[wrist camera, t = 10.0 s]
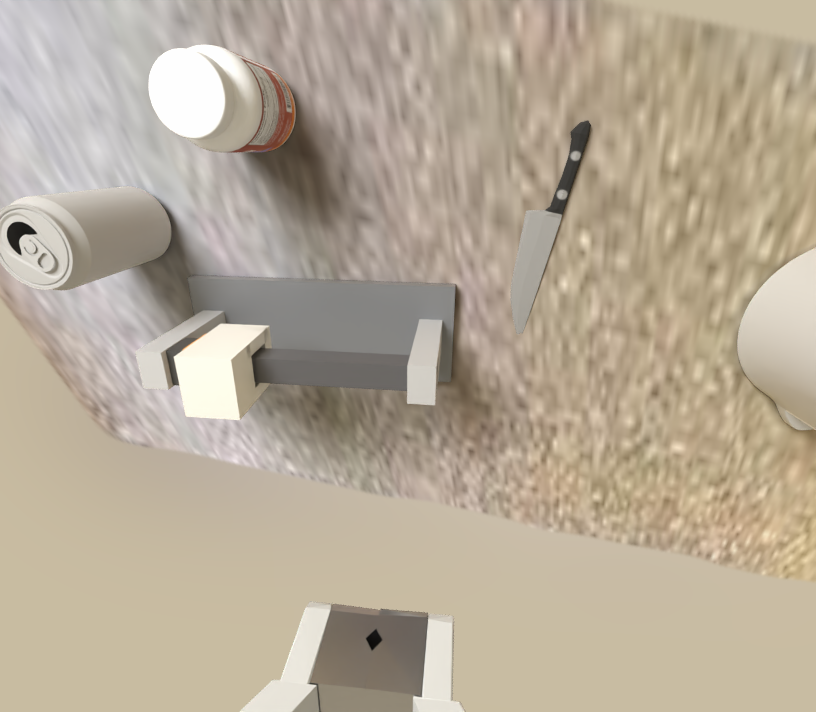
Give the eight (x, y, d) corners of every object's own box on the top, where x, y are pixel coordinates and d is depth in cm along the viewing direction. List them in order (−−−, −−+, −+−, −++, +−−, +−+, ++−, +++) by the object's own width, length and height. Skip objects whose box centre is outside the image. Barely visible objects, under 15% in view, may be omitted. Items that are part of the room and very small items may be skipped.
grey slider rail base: (455, 284, 42) (452, 326, 31) (451, 377, 45) (447, 442, 35) (192, 275, 44) (112, 311, 34) (208, 364, 47) (139, 421, 37)
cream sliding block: (269, 325, 38) (231, 359, 32) (275, 378, 40) (239, 420, 33) (220, 323, 38) (173, 356, 32) (228, 375, 40) (185, 416, 34)
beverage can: (133, 169, 41) (10, 175, 30) (190, 227, 42) (94, 254, 31) (93, 219, 43) (-34, 243, 32) (149, 273, 44) (46, 313, 33)
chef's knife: (484, 341, 44) (516, 349, 44) (484, 345, 43) (517, 354, 43) (552, 113, 36) (592, 122, 36) (554, 112, 35) (594, 121, 35)
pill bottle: (211, 124, 39) (121, 115, 28) (239, 47, 36) (153, 6, 26) (278, 167, 39) (214, 173, 29) (311, 94, 37) (254, 72, 27)
